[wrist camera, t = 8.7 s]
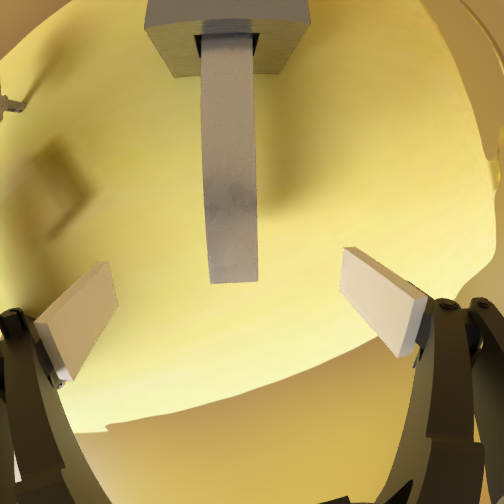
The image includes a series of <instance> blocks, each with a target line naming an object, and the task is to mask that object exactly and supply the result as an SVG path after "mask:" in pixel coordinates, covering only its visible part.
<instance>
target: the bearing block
mask: <svg viewBox="0 0 504 504" xmlns="http://www.w3.org/2000/svg"><path fill="white" fill-rule="evenodd" d="M310 24H311V23H310V15H309V8H308V1H307V0H148V4H147V11H146V17H145V24H144V29H145V31H146V33H147V34H148V36H149V37H150V39H151V41H152V42H153V44H154V45H155V47H156V49H157V50H158V52H159V54H160V55H161V57H162V58H163V60H164V62H165V63H166V65H167V67H168V68H169V70H170V72H171V73H172V75H173V77H174V78H178V77H187V76H197V75H201V47H202V34H213V33H252V53H253V73H263V74H279V73H280V71H281V69H282V68H283V66H284V65H285V63H286V61H287V60H288V58H289V56H290V55H291V53H292V52H293V50H294V48H295V47H296V45H297V44H298V42H299V41H300V39H301V37H302V36H303V34H304V33H305V31H306V30H307V28H308V27H309V25H310Z"/></svg>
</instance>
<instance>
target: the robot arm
mask: <svg viewBox="0 0 504 504" xmlns="http://www.w3.org/2000/svg"><path fill="white" fill-rule="evenodd" d="M339 292H340V293H341V294H342V295H343V296H344V298H345V299H346V300H347V301H348V302H349V303H350V304H351V305H352V306H353V308H354V309H355V310H356V311H357V312H358V313H359V314H360V315H361V317H362V318H363V319H364V320H365V321H366V322H367V323H368V324H369V326H370V327H371V328H372V329H373V330H374V331H375V332H376V334H377V335H378V336H379V337H380V338H381V339H382V341H383V342H384V343H385V344H386V345H387V346H388V347H389V349H390V350H391V351H392V352H393V353H394V354H395V356H396V357H397V358H400V357H403V356H407V355H409V354H411V353H412V350H413V347H414V344H415V342H416V343H417V344H418V345H419V346H420V349H419V352H418V355H417V357H416V360H415V362H414V365H413V368H415V367H416V370H415V376H414V382H413V388H412V393H411V399H410V404H409V408H408V413H407V417H406V421H405V426H404V429H403V433H402V437H401V440H400V444H399V447H398V451H397V454H396V457H395V460H394V463H393V466H392V469H391V471H390V474H389V477H388V480H387V482H386V485H385V486H384V488H383V490H382V491H381V493H380V494H379V496H378V497H377V499H376V501H375V503H350V500H349V498H348V496H345V497H341V498H338V499H335V500H331V501H328V502H324V503H320V504H479V501H480V494H481V488H482V482H483V473H484V463H485V469H486V477H487V484H488V490H489V495H490V499H491V504H504V317H503V316H502V314H501V313H500V312H499V311H498V309H497V308H496V307H495V306H494V304H493V303H491V302H490V301H488V300H487V299H486V298H483V297H481V298H473V299H472V300H471V303H470V307H469V308H468V309H461V307H460V305H459V304H458V303H456V302H455V301H453V300H450V299H445V298H439V299H436V300H434V299H433V298H431V297H430V296H429V295H427V294H426V293H424V292H423V291H421V290H420V289H419V288H417V287H415V285H413V284H412V283H410V282H409V281H406V280H404V279H403V278H401V277H400V276H398V275H397V274H395V273H394V272H393V271H391V270H390V269H388V268H387V267H385V266H384V265H382V264H381V263H379V262H378V261H376V260H375V259H373V258H372V257H370V256H368V255H367V254H365V253H364V252H362V251H361V250H359V249H358V248H356V247H344V248H343V258H342V270H341V280H340V289H339ZM117 307H118V303H117V299H116V294H115V290H114V286H113V281H112V276H111V271H110V266H109V261H108V262H97V263H96V264H94V265H93V266H92V267H91V268H90V269H89V270H88V271H86V272H85V273H84V274H83V275H82V276H81V277H80V278H79V279H78V280H76V281H75V282H74V283H73V284H72V285H71V286H70V287H69V288H68V289H67V290H66V291H65V292H64V293H62V294H61V295H60V296H59V297H58V298H57V299H56V300H55V301H54V302H53V303H52V304H51V305H50V306H49V307H48V308H47V309H46V310H45V311H44V312H43V313H42V314H41V315H40V316H39V317H38V318H37V319H36V320H34V319H32V318H30V317H27V316H24V314H23V311H22V309H20V308H12V309H9V310H7V311H5V312H3V313H2V314H0V330H1V332H2V336H1V338H0V504H17V503H18V504H112V503H111V501H110V500H109V498H108V497H107V495H106V494H105V492H104V491H103V489H102V488H101V486H100V484H99V482H98V481H97V479H96V477H95V476H94V474H93V472H92V470H91V469H90V467H89V465H88V463H87V461H86V459H85V457H84V455H83V453H82V452H81V449H80V447H79V445H78V443H77V441H76V438H75V436H74V434H73V432H72V429H71V427H70V425H69V422H68V420H67V417H66V415H65V412H64V409H63V407H62V404H61V401H60V398H59V395H58V393H57V390H58V389H60V388H61V387H62V386H63V385H64V384H65V382H66V381H74V379H75V378H76V376H77V374H78V372H79V370H80V368H81V367H82V365H83V363H84V361H85V360H86V358H87V356H88V354H89V353H90V351H91V349H92V347H93V346H94V344H95V342H96V341H97V339H98V337H99V336H100V334H101V332H102V331H103V329H104V328H105V326H106V324H107V323H108V321H109V320H110V318H111V316H112V315H113V313H114V312H115V310H116V309H117ZM482 342H483V346H482V349H481V348H480V346H481V344H482ZM474 415H475V418H476V423H477V427H478V431H479V435H480V440H481V443H477V442H474V438H473V435H474ZM14 454H15V456H16V460H17V464H18V468H19V471H20V475H21V479H22V481H21V482H17V483H15V475H14Z"/></svg>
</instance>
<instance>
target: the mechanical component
mask: <svg viewBox="0 0 504 504" xmlns="http://www.w3.org/2000/svg"><path fill="white" fill-rule="evenodd" d="M24 109H25V103H22V102H17V101H12V100H8V97H7V96H6V95H4V96H1V86H0V122H1V121H2V120H3V112H4V111H10V112H17V113H20V110H24Z"/></svg>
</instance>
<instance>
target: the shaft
mask: <svg viewBox="0 0 504 504" xmlns="http://www.w3.org/2000/svg"><path fill="white" fill-rule="evenodd" d="M201 134H202V166H203V188H204V207H205V223H206V238H207V251H208V263H209V275H210V284H220V283H239V282H256V281H258V241H257V196H256V155H255V118H254V84H253V53H252V33H213V34H202V47H201Z"/></svg>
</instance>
